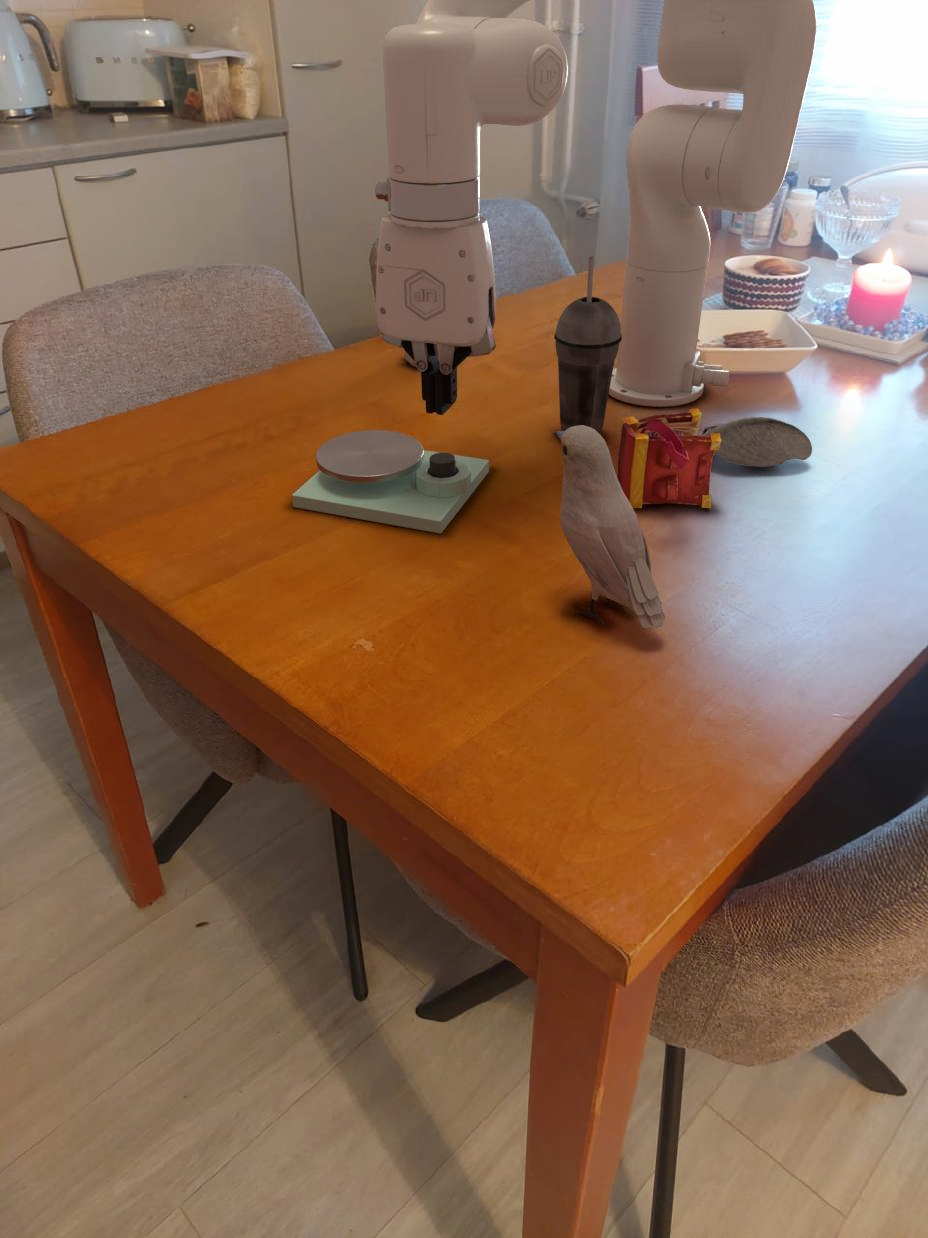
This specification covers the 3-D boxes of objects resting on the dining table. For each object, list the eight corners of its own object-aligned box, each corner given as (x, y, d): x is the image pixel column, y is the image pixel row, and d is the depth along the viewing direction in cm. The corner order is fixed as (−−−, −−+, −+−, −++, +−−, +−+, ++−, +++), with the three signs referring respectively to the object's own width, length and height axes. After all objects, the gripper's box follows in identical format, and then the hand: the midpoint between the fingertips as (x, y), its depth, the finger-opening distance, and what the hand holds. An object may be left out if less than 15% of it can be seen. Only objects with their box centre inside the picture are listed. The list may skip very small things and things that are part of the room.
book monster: (698, 477, 93) (720, 541, 84) (611, 479, 94) (624, 543, 85) (712, 381, 87) (738, 440, 77) (619, 383, 87) (633, 442, 78)
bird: (567, 564, 80) (577, 405, 72) (678, 636, 71) (706, 464, 63) (525, 582, 78) (530, 420, 69) (634, 658, 69) (656, 484, 60)
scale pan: (440, 444, 94) (439, 437, 94) (397, 490, 86) (397, 483, 85) (346, 430, 97) (345, 424, 97) (296, 473, 89) (295, 466, 88)
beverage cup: (618, 427, 104) (635, 247, 93) (605, 453, 99) (622, 265, 87) (557, 420, 106) (567, 243, 95) (542, 445, 101) (550, 260, 89)
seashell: (800, 446, 100) (810, 403, 97) (814, 479, 93) (825, 435, 90) (692, 441, 101) (698, 399, 98) (698, 474, 94) (705, 430, 91)
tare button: (459, 470, 90) (459, 454, 89) (450, 481, 88) (449, 465, 87) (435, 466, 91) (435, 450, 90) (425, 477, 89) (425, 461, 88)
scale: (491, 472, 95) (491, 446, 94) (443, 534, 85) (442, 506, 83) (354, 450, 100) (352, 425, 98) (293, 507, 90) (289, 480, 88)
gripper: (334, 203, 74) (352, 413, 85) (505, 215, 70) (501, 435, 80) (373, 187, 80) (385, 386, 90) (533, 197, 75) (526, 404, 86)
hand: (439, 408), depth 85 cm, fingers closed
